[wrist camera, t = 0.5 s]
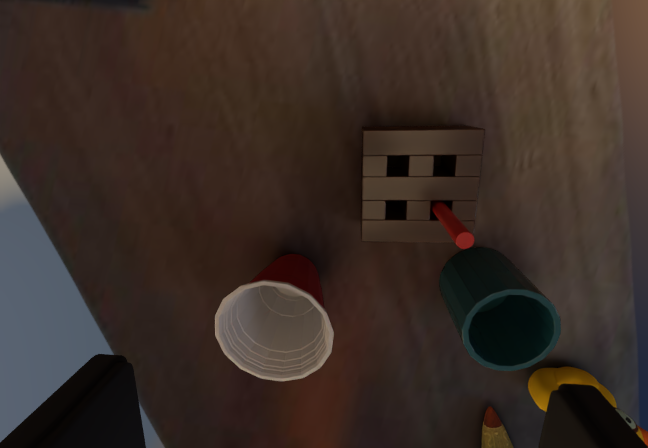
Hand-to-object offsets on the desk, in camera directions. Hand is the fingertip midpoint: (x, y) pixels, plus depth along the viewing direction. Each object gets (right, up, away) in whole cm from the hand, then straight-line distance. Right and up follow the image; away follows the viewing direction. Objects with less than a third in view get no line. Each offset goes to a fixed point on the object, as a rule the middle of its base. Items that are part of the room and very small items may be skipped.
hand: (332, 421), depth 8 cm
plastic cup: (-4, -2, +36) cm, 36 cm away
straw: (+11, +8, +32) cm, 34 cm away
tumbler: (+17, -2, +34) cm, 38 cm away
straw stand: (+9, +9, +31) cm, 34 cm away
